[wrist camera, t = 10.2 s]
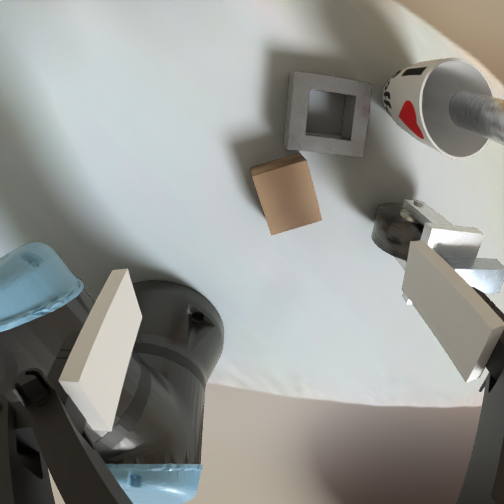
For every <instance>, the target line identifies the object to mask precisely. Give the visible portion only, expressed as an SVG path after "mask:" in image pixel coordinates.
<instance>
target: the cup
mask: <svg viewBox="0 0 504 504" xmlns="http://www.w3.org/2000/svg"><path fill="white" fill-rule="evenodd" d="M458 91H467V92H472V93H477V94H482V95H486V96H490V97H494V94H493V91H492V88H491V86H490V84H489V82H488V80H487V79H486V77H485V76H484V74H483V73H482V72H481V71H480V70H479V69H478V68H477V67H476V66H475V65H473V64H472V63H470V62H468V61H466V60H464V59H460V58H446V59H438V60H431V61H424V62H420V63H417V64H414V65H412V66H409V67H407V68H404V69H402V70H400V71H398V72H397V73H396V74H395V75H394V76H393V77H392V78H390V79H389V80H388V81H387V83H386V84H385V86H384V89H383V95H382V98H383V104H384V107H385V109H386V111H387V112H388V113H389V115H390V116H391V117H392V119H393V120H394V121H395V122H396V124H397V125H399V126H400V127H401V128H402V129H404V130H405V131H406V132H408V133H409V134H410V135H412V136H413V137H414V138H415V139H417V140H418V141H420V142H422V143H424V144H426V145H428V146H429V147H431V148H433V149H435V150H437V151H438V152H440V153H442V154H444V155H446V156H448V157H450V158H453V159H468V158H471V157H473V156H475V155H477V154H478V153H479V152H481V151H482V150H483V149H484V148H485V146H486V145H487V144H488V142H489V140H490V139H488V138H486V137H483V136H481V135H478V134H476V133H473V132H470V131H468V130H465V129H462V128H459V127H457V126H456V125H455V124H454V123H453V122H452V120H451V118H450V115H449V102H450V99H451V97H452V96H453V94H454V93H456V92H458Z"/></svg>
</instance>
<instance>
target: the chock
mask: <svg viewBox="0 0 504 504" xmlns="http://www.w3.org/2000/svg"><path fill="white" fill-rule="evenodd" d="M251 174H252V178H253V181H254V184H255V187H256V190H257V193H258V196H259V199H260V202H261V205H262V208H263V212H264V215H265V218H266V221H267V224H268V227H269V230H270V233H271V235H274V234H278V233H281V232H284V231H288V230H291V229H294V228H298V227H301V226H304V225H308V224H311V223H315V222H318V221H321V220H322V218H321V214H320V210H319V206H318V202H317V198H316V194H315V190H314V186H313V182H312V178H311V175H310V171H309V167H308V163H307V160H306V159H305V158H304V157H303V156H302V155H301V154H300V153H299V154H295V155H292V156H288V157H285V158H281V159H278V160H275V161H271V162H268V163H265V164H261V165H258V166H255V167H252V168H251Z"/></svg>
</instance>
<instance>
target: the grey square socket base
mask: <svg viewBox="0 0 504 504" xmlns="http://www.w3.org/2000/svg"><path fill="white" fill-rule="evenodd" d="M310 89H311V90H318V91H325V92H332V93H338V94H344V95H346V99H345V108H344V116H343V125H342V133H341V136H337V135H330V134H322V133H313V132H306V123H307V113H308V103H309V92H310ZM371 92H372V84H370V83H365V82H360V81H355V80H350V79H344V78H339V77H333V76H327V75H320V74H313V73H306V72H298V71H294V72H291V73H290V74H289V86H288V98H287V109H286V120H285V131H284V142H283V144H284V145H285V147H286V148H287V149H288V150H300V151H310V152H319V153H328V154H337V155H345V156H353V157H360V158H363V153H364V146H365V139H366V132H367V125H368V117H369V109H370V101H371Z"/></svg>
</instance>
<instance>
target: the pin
mask: <svg viewBox="0 0 504 504" xmlns="http://www.w3.org/2000/svg"><path fill="white" fill-rule="evenodd" d="M449 115H450V118H451V120H452V122H453V123H454V124H455V125H456V126H457V127H459V128H462V129H465V130H468V131H470V132H473V133H476V134H478V135H481V136H483V137H486V138H488V139H491V140H493V141H495V142H498V143H500V144H502V145H504V100H503V99H499V98H495V97H490V96H486V95H482V94H477V93H472V92H467V91H458V92H456V93H454V94H453V96H452V97H451V99H450V102H449Z"/></svg>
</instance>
